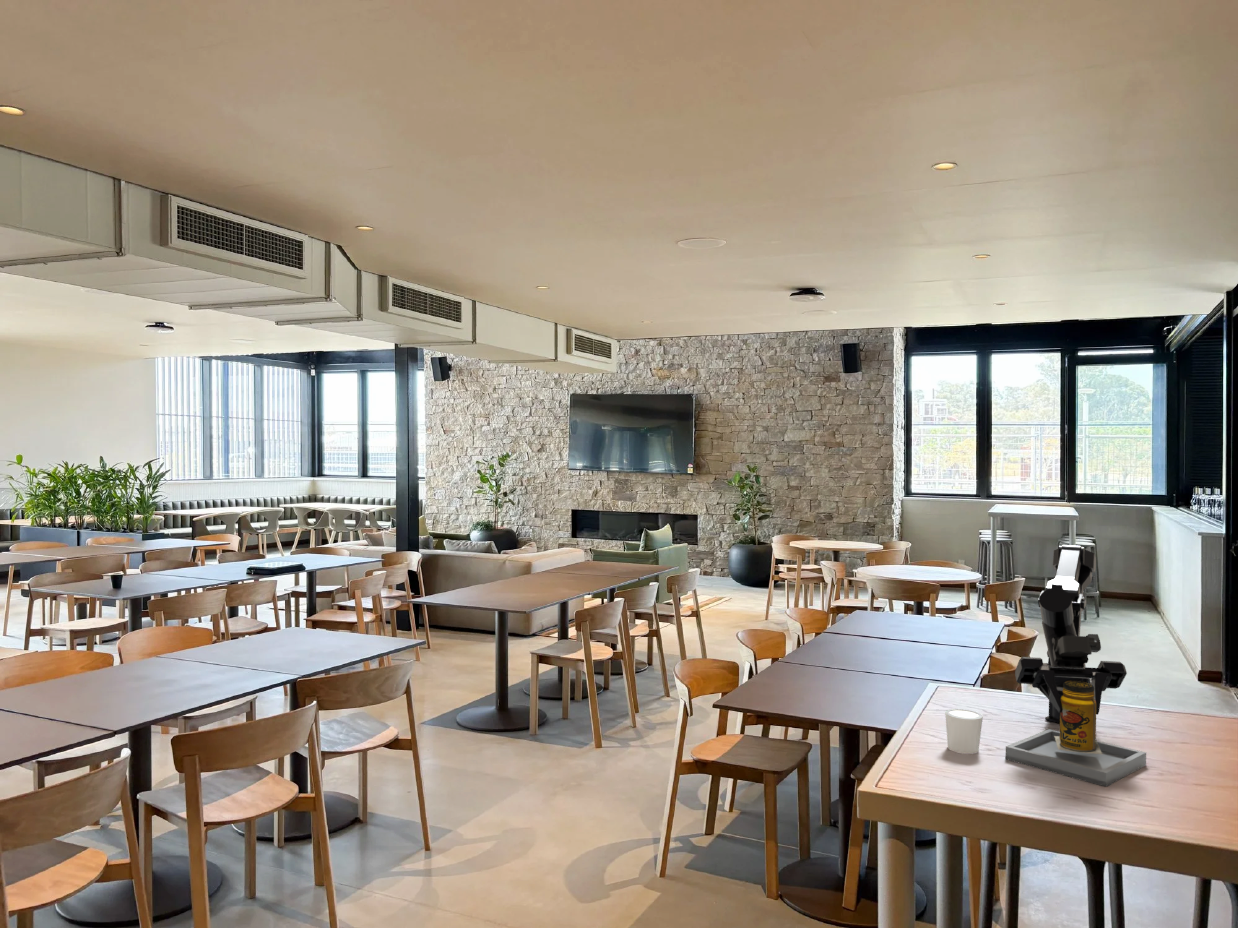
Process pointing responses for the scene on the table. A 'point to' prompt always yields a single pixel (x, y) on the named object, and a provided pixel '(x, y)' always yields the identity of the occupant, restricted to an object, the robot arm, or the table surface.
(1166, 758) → the table surface
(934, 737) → the table surface
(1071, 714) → the condiment
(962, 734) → the shot glass
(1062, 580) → the robot arm
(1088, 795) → the table surface
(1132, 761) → the tray
